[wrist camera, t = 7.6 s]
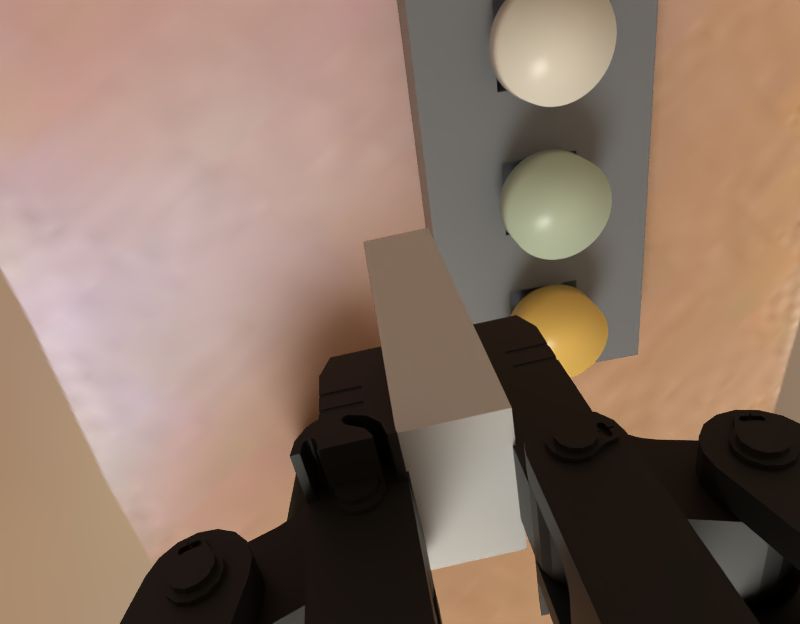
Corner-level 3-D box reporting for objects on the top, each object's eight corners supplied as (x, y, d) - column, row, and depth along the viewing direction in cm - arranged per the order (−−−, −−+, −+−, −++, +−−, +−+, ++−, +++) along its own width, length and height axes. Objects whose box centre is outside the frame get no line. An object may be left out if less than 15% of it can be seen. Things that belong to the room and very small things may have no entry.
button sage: (483, 148, 31) (505, 166, 27) (577, 132, 31) (613, 147, 27) (490, 239, 33) (511, 267, 29) (577, 224, 33) (610, 250, 30)
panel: (393, -31, 28) (400, -36, 25) (631, -68, 29) (662, -78, 26) (443, 364, 39) (452, 389, 36) (616, 331, 39) (637, 354, 36)
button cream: (471, -11, 27) (495, -16, 24) (578, -28, 28) (618, -36, 24) (480, 103, 30) (503, 115, 26) (577, 87, 30) (614, 96, 26)
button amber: (492, 275, 34) (514, 307, 30) (577, 260, 34) (609, 290, 31) (498, 350, 37) (518, 388, 33) (577, 335, 37) (607, 371, 33)
